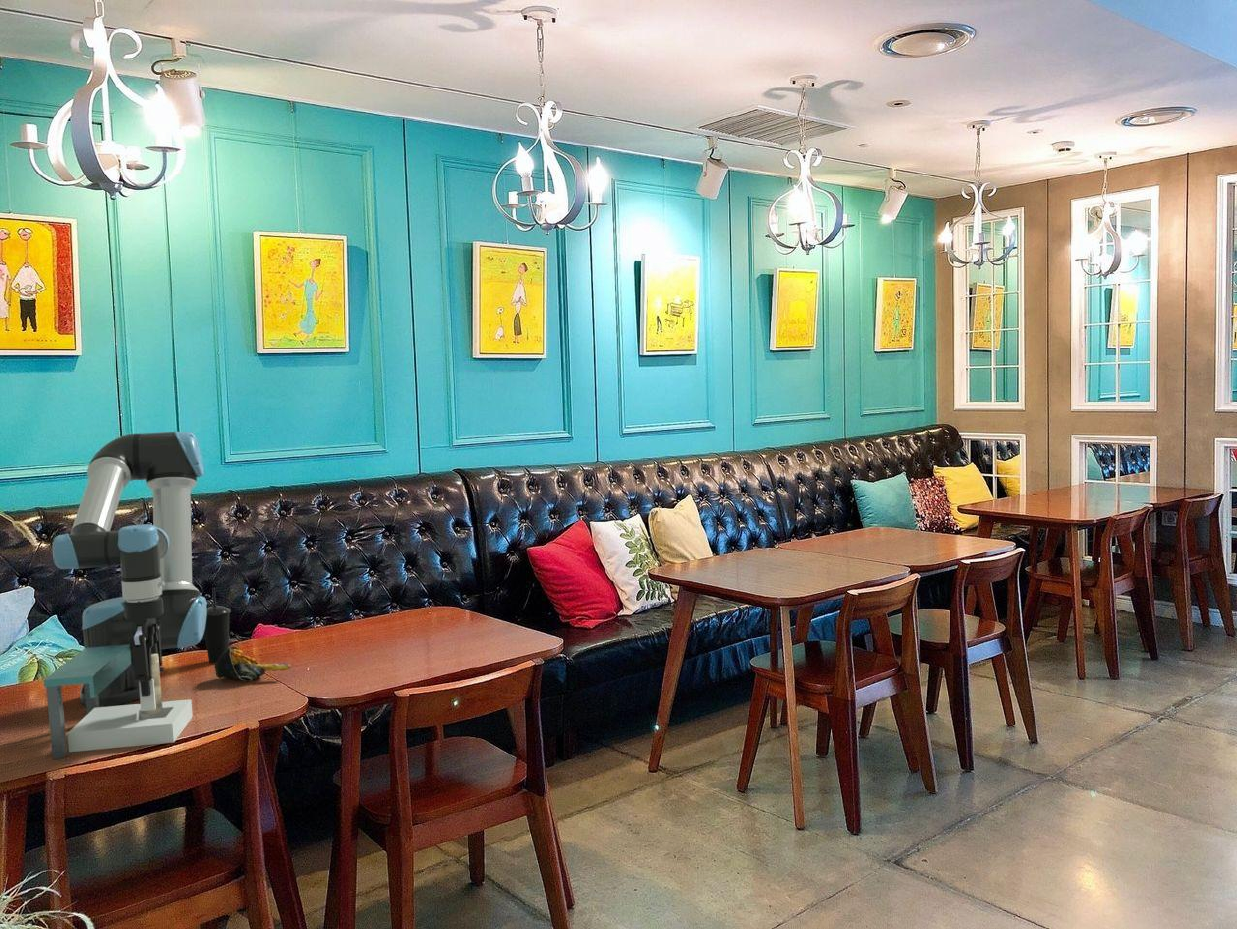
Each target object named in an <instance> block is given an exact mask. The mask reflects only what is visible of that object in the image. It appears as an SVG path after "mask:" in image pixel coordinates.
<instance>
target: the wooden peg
mask: <svg viewBox="0 0 1237 929" xmlns="http://www.w3.org/2000/svg"><path fill="white" fill-rule="evenodd" d="M151 670H152V679H154V690H155V703H156V709H155V710H149V711H142V714H146V715H148V714H155V713H159V712H161V711H162V710H163V708H162V702H163V699H162V697H163V696H162V686H161V685H162V684H161V671H160V670H159V658H158V654H151Z"/></svg>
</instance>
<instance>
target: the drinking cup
mask: <svg viewBox="0 0 1237 929" xmlns="http://www.w3.org/2000/svg"><path fill="white" fill-rule="evenodd" d="M211 592H212V606H210V607H208V608H207V607H206V610H207V613H206V623H205V629H204V634H203V637H204V641H205V646H206V650H207V651H206V652H207V658H208V663H209V662H210V663H209V664H211V663H216V662H217V661H218V659H219V658H220V656H221V655H222V653H224V652H225V651H226V650H228V649H229V648H230V646H229V645H230V613H231V612H232V611H231V608H228V607H225V606H221V605H219V606H218V605H217V602H216V599H217V598H216V587H211Z"/></svg>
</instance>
